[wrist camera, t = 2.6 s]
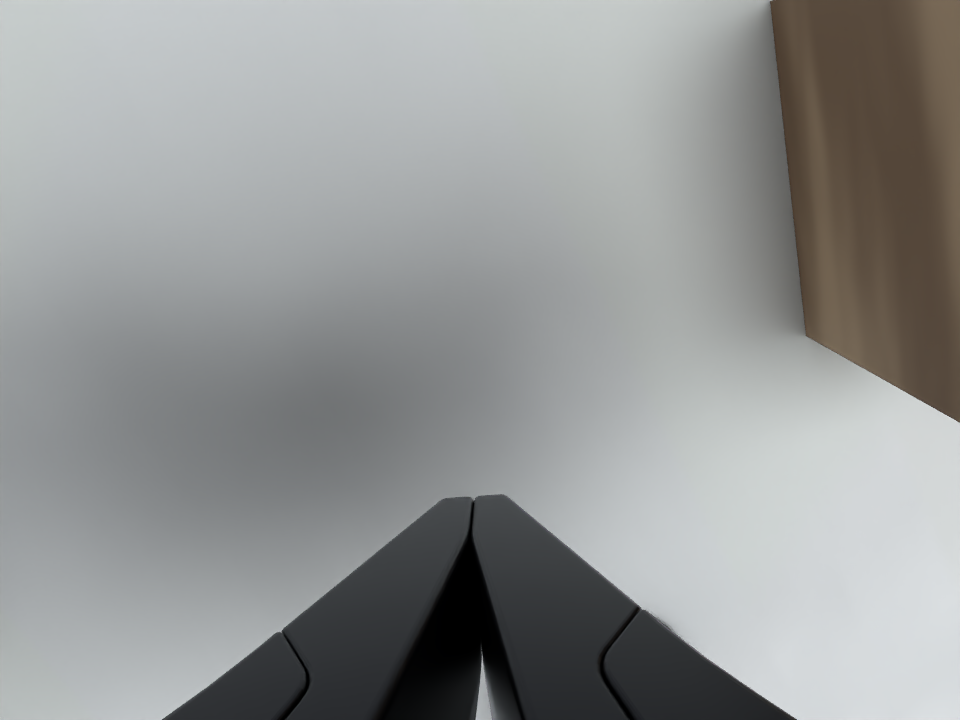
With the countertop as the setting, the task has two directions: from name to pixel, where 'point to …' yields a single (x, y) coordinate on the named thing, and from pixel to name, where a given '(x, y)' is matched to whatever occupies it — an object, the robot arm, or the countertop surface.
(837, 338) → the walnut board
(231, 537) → the countertop surface
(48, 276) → the countertop surface
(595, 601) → the robot arm
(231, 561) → the countertop surface
